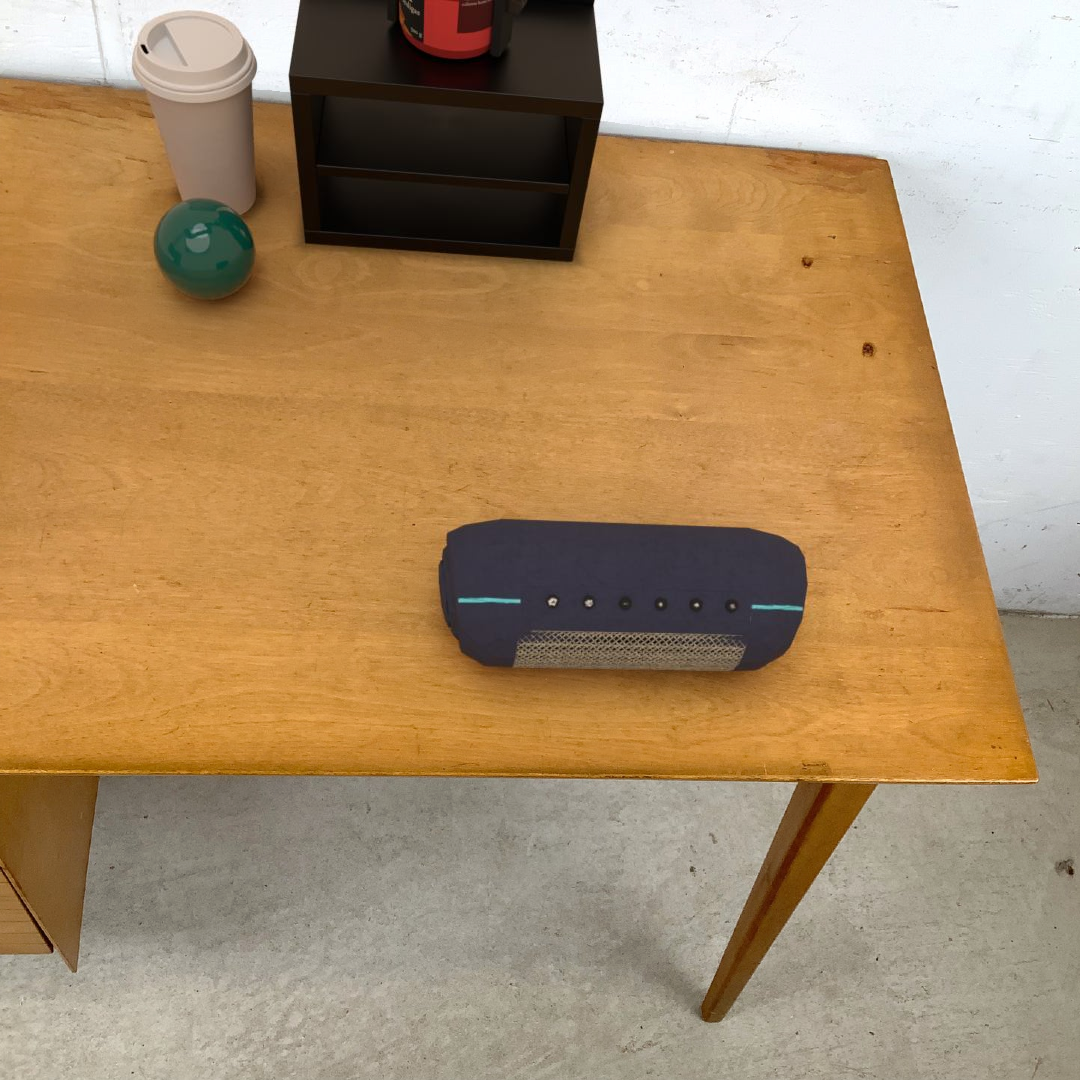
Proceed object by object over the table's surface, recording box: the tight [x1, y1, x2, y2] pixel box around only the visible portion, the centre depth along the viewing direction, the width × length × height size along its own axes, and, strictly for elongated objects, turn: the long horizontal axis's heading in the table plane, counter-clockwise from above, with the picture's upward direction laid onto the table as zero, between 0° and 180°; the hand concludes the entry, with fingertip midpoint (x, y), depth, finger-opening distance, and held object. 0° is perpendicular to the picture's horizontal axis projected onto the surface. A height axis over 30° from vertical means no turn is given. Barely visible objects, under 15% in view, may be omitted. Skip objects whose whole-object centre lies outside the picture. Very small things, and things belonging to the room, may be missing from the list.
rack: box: [288, 0, 605, 263], centre depth 87 cm, size 14×24×18 cm, turn 92°
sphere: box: [152, 198, 257, 301], centre depth 82 cm, size 8×8×8 cm
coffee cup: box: [131, 9, 258, 216], centre depth 85 cm, size 10×10×15 cm
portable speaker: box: [438, 518, 809, 672], centre depth 69 cm, size 25×10×10 cm, turn 92°
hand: (449, 29), depth 80 cm, fingers closed on canned food, 8 cm apart
